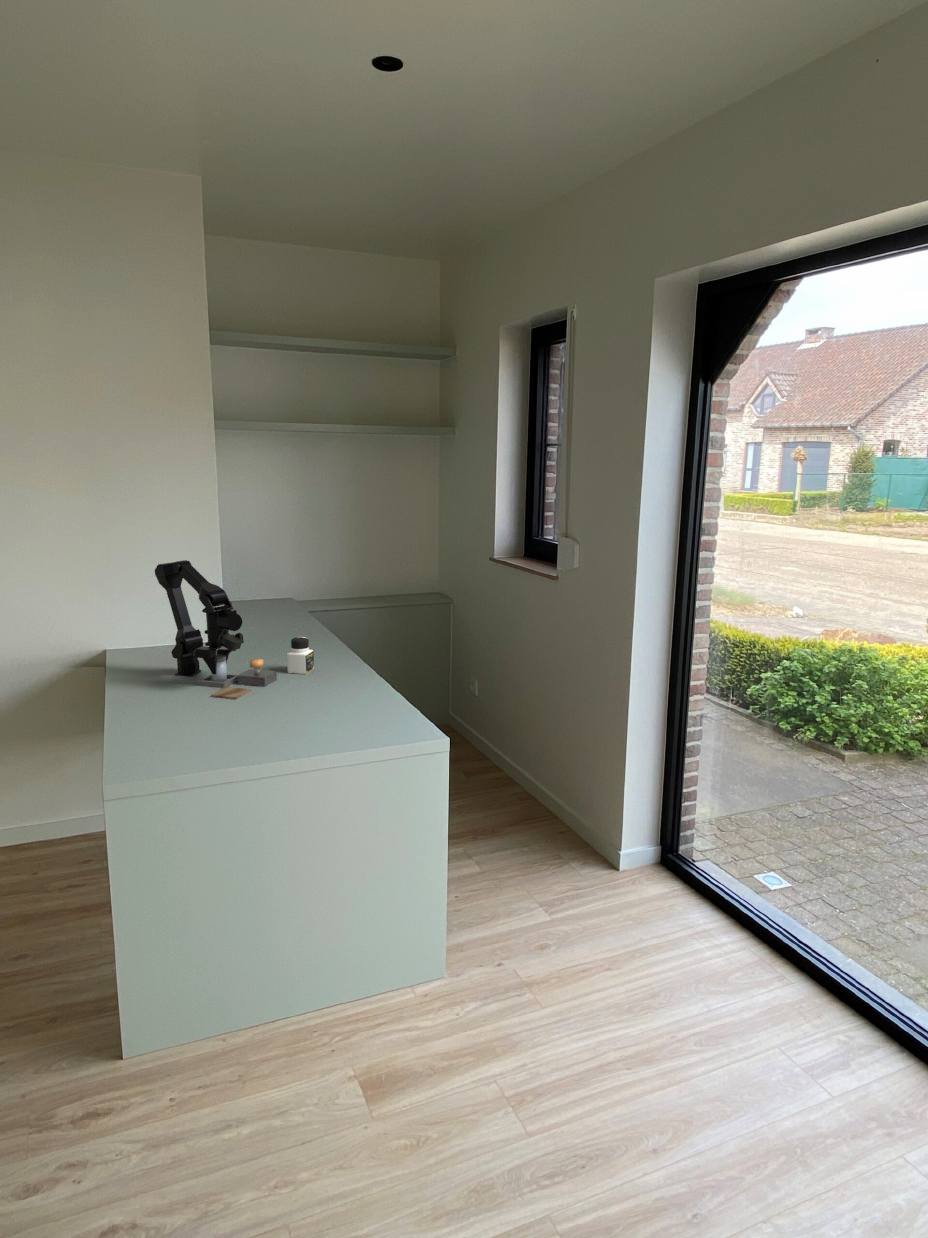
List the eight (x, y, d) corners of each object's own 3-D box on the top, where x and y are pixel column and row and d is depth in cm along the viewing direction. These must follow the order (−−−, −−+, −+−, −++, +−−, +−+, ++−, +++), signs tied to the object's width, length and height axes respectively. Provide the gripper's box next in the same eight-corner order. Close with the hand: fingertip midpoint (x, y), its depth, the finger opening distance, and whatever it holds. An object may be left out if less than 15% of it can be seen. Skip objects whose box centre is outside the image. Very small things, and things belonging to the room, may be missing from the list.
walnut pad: (210, 696, 253) (210, 694, 253) (226, 688, 261) (226, 686, 261) (236, 699, 250) (235, 697, 250) (250, 690, 259) (250, 689, 259)
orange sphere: (247, 674, 266) (247, 661, 266) (254, 670, 271) (253, 658, 270) (259, 675, 265) (259, 662, 264) (266, 671, 269) (265, 659, 269)
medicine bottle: (306, 674, 278) (305, 641, 275) (287, 673, 279) (285, 639, 276) (314, 668, 284) (313, 636, 282) (295, 667, 286) (294, 635, 283)
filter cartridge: (208, 683, 266) (207, 657, 264) (217, 679, 271) (215, 653, 269) (222, 685, 265) (220, 658, 263) (230, 680, 270) (228, 655, 268)
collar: (197, 685, 265) (197, 680, 264) (214, 676, 274) (214, 672, 274) (224, 687, 262) (224, 683, 262) (240, 679, 271) (240, 675, 271)
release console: (238, 683, 266) (237, 675, 266) (250, 677, 274) (250, 668, 273) (264, 686, 264) (264, 677, 263) (276, 679, 271) (276, 671, 270)
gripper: (221, 634, 253) (224, 682, 256) (252, 622, 270) (254, 666, 274) (191, 632, 256) (194, 679, 259) (223, 620, 273) (225, 664, 277)
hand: (218, 672), depth 267 cm, fingers closed on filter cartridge, 5 cm apart
